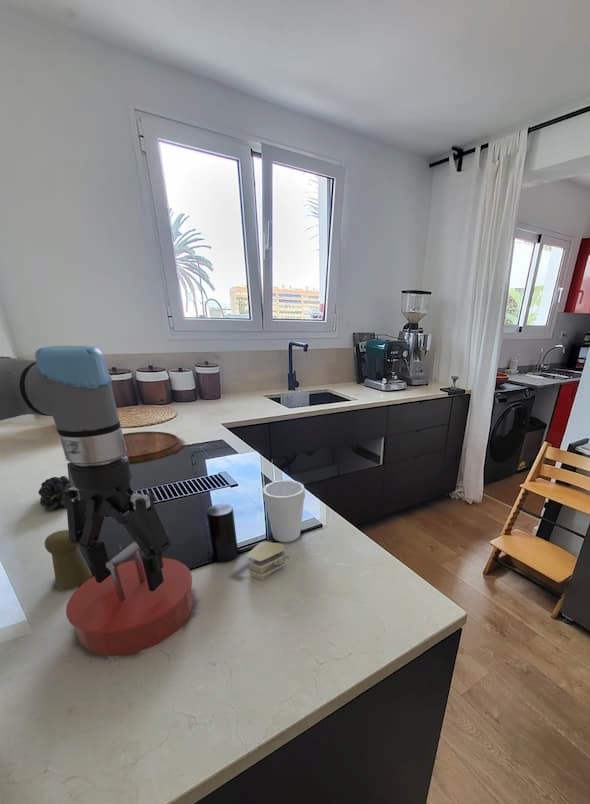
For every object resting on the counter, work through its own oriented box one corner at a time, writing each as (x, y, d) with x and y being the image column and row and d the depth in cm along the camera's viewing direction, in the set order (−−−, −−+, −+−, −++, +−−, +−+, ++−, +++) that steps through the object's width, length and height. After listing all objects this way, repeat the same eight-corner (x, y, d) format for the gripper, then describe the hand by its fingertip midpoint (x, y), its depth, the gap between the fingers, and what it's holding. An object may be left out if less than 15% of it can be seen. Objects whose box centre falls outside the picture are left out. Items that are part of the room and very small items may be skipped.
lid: (37, 626, 61) (18, 579, 57) (125, 557, 77) (114, 517, 74) (146, 646, 58) (133, 598, 54) (212, 569, 75) (206, 529, 71)
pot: (53, 647, 63) (42, 621, 61) (130, 579, 79) (124, 556, 77) (151, 666, 60) (144, 639, 58) (211, 592, 76) (207, 568, 74)
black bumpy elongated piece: (40, 464, 108) (40, 482, 97) (77, 467, 114) (81, 484, 103) (37, 493, 110) (36, 514, 99) (73, 495, 115) (76, 515, 104)
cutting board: (77, 470, 128) (75, 463, 127) (93, 441, 154) (91, 435, 153) (183, 458, 140) (182, 452, 139) (181, 433, 167) (180, 427, 166)
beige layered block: (268, 593, 76) (266, 570, 74) (234, 578, 80) (231, 555, 78) (299, 566, 84) (298, 545, 82) (267, 554, 88) (265, 533, 86)
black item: (209, 562, 85) (201, 514, 80) (221, 549, 89) (214, 502, 84) (231, 565, 84) (225, 517, 79) (242, 552, 89) (237, 505, 84)
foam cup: (298, 550, 90) (296, 499, 85) (260, 545, 91) (256, 495, 86) (310, 529, 99) (309, 482, 93) (275, 524, 100) (272, 478, 95)
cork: (81, 568, 82) (66, 523, 77) (99, 577, 79) (85, 530, 75) (49, 585, 77) (32, 537, 72) (68, 595, 74) (51, 546, 70)
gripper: (9, 460, 56) (55, 586, 65) (148, 474, 52) (175, 606, 61) (56, 443, 62) (91, 560, 71) (181, 455, 59) (201, 577, 68)
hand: (130, 581), depth 66 cm, fingers open, 9 cm apart
